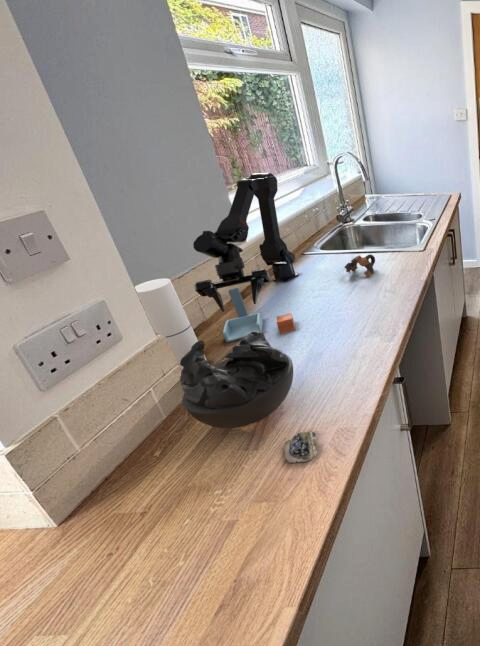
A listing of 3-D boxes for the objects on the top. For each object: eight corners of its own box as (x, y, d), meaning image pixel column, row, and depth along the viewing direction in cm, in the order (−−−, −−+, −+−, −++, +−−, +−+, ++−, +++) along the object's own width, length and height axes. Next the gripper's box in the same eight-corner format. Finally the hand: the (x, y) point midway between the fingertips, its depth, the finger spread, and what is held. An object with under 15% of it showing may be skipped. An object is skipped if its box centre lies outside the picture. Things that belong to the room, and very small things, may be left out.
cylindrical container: (191, 380, 101) (148, 293, 91) (168, 377, 103) (123, 291, 92) (215, 362, 108) (177, 279, 97) (193, 360, 109) (154, 277, 98)
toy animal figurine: (363, 282, 150) (348, 265, 147) (353, 286, 156) (338, 270, 153) (385, 263, 157) (371, 246, 154) (374, 268, 164) (360, 252, 161)
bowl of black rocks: (321, 402, 92) (299, 333, 84) (226, 467, 77) (188, 390, 69) (276, 373, 102) (252, 309, 94) (184, 425, 88) (147, 354, 80)
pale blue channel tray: (230, 326, 124) (216, 292, 119) (263, 318, 128) (250, 285, 123) (226, 342, 116) (211, 306, 111) (261, 333, 120) (248, 297, 115)
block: (276, 316, 121) (276, 322, 117) (291, 312, 122) (291, 318, 119) (280, 327, 122) (280, 334, 119) (294, 323, 124) (295, 330, 121)
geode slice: (310, 428, 85) (307, 422, 84) (329, 447, 80) (327, 440, 79) (277, 449, 80) (274, 443, 79) (295, 471, 76) (292, 464, 75)
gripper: (183, 257, 115) (191, 307, 111) (257, 244, 122) (267, 290, 118) (198, 272, 125) (206, 319, 120) (266, 259, 132) (276, 302, 128)
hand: (239, 307), depth 121 cm, fingers open, 8 cm apart
